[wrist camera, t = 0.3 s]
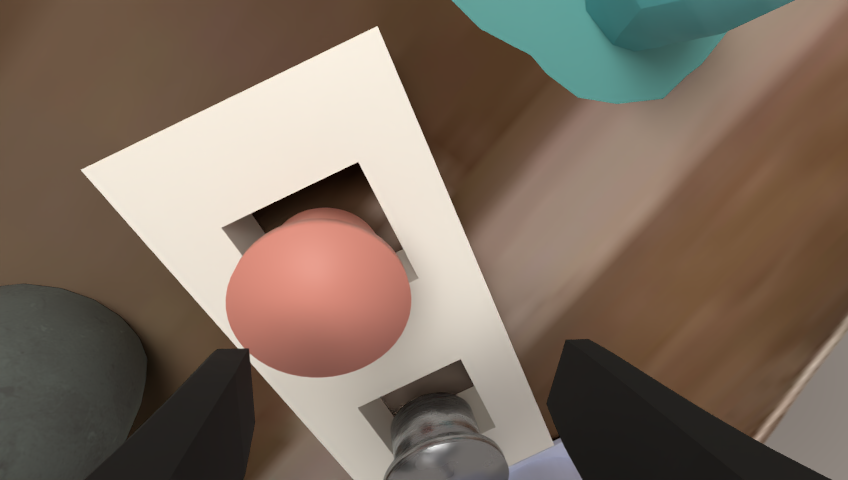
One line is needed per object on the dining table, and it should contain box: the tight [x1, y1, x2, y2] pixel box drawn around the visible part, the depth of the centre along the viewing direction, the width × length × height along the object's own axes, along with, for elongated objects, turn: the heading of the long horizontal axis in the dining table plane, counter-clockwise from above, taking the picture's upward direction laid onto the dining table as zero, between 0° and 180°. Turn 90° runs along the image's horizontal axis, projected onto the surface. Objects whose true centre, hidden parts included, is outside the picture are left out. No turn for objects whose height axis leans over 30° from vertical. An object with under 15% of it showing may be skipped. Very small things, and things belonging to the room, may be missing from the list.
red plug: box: [226, 208, 411, 378], centre depth 13 cm, size 5×5×3 cm
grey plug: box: [383, 393, 509, 480], centre depth 17 cm, size 5×5×3 cm
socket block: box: [81, 26, 554, 480], centre depth 18 cm, size 22×10×3 cm, turn 23°
